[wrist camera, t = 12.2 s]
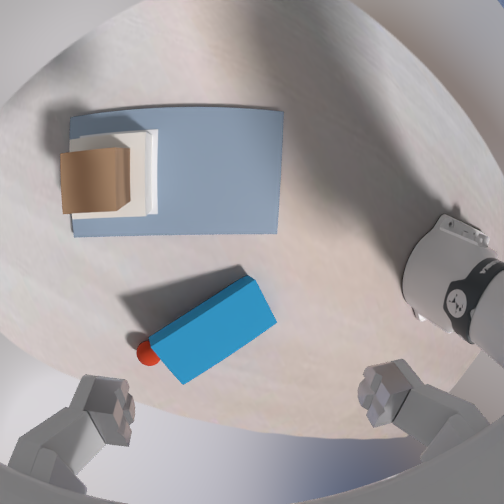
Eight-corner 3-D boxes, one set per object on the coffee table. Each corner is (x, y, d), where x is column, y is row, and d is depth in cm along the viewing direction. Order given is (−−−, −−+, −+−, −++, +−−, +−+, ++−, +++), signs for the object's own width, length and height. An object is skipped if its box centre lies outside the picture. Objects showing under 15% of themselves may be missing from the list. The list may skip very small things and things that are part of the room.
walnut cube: (130, 148, 24) (115, 147, 19) (130, 201, 25) (116, 211, 21) (82, 152, 23) (60, 153, 18) (84, 203, 24) (62, 214, 20)
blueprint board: (281, 112, 30) (284, 111, 29) (275, 232, 34) (277, 234, 33) (73, 117, 25) (70, 117, 24) (76, 235, 30) (73, 237, 29)
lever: (233, 265, 40) (123, 335, 35) (255, 279, 33) (125, 362, 29) (253, 303, 42) (152, 369, 37) (277, 322, 36) (159, 399, 31)
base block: (152, 134, 27) (145, 131, 23) (152, 208, 30) (145, 216, 26) (84, 140, 26) (69, 139, 22) (85, 211, 28) (72, 219, 25)
